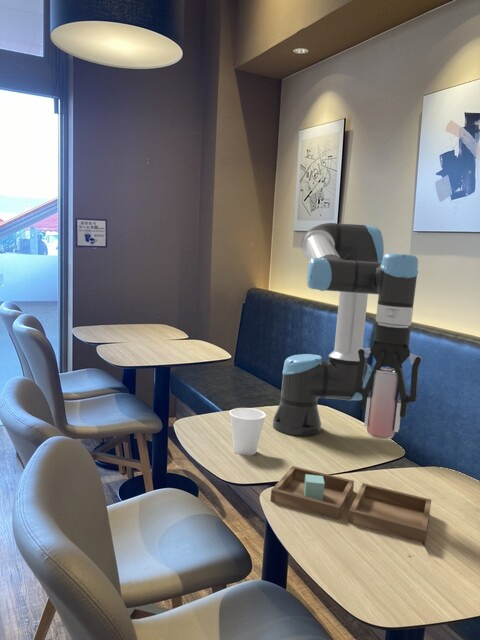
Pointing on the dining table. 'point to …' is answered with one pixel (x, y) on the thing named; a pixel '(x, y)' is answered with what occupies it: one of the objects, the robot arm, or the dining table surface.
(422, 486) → the dining table surface
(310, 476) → the teal block
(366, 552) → the dining table surface
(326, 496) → the tray
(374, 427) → the beverage can
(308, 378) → the robot arm
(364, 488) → the tray
